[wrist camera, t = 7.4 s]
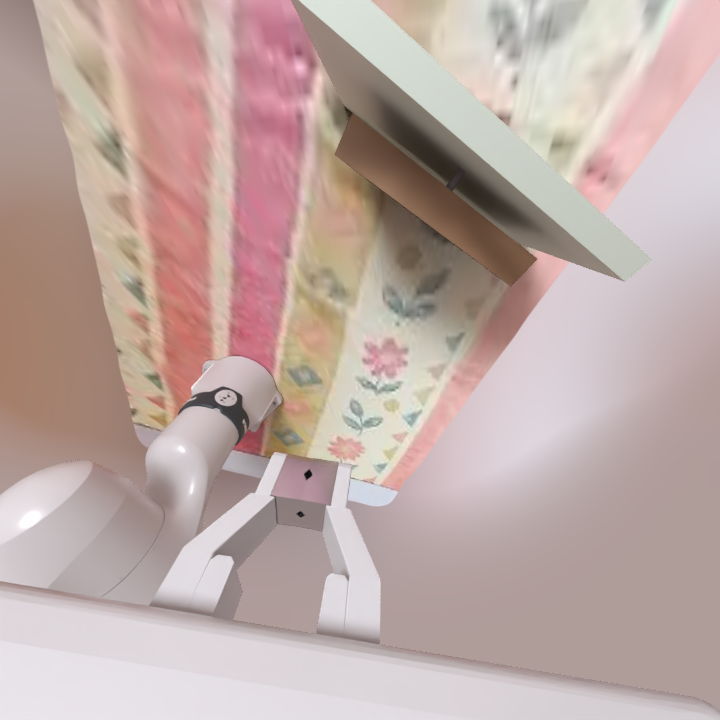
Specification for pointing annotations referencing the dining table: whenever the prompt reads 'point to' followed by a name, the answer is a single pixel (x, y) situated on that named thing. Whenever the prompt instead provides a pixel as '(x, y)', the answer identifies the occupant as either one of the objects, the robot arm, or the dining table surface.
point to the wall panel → (459, 137)
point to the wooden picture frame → (431, 201)
